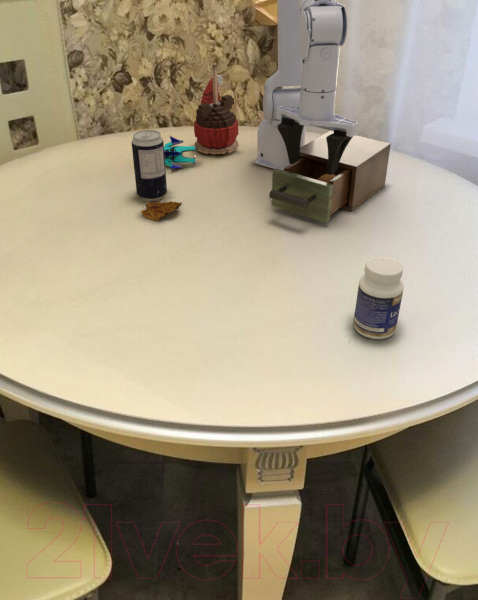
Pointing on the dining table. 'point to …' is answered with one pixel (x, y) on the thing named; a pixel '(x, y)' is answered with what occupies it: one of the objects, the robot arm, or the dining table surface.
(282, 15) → the robot arm
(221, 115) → the cake
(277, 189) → the drawer
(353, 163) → the cabinet
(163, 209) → the leaf
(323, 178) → the egg
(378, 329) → the pill bottle
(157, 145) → the beverage can
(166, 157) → the figurine
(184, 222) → the dining table surface
